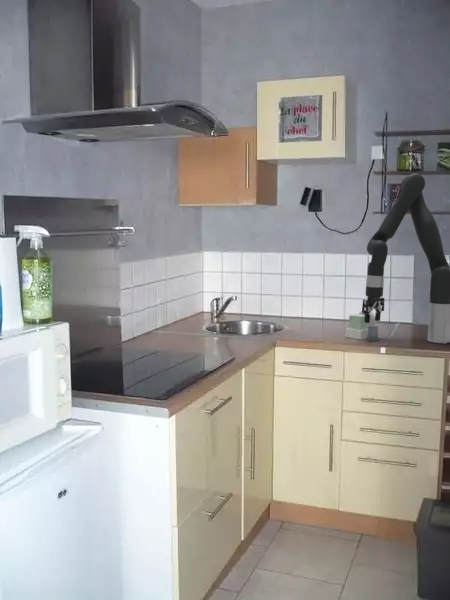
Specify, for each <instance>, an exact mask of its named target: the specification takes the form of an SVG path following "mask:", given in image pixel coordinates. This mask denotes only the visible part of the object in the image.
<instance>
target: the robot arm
mask: <svg viewBox="0 0 450 600" xmlns="http://www.w3.org/2000/svg"><path fill="white" fill-rule="evenodd" d="M425 186H426V180H425V177H424V176H423V175H422V174H421V173H416V172H414V173H411V174H409V175H406V177H404V178H403V179H402V180H401V183H400V190H401V191H400V194H399V196H398V197H397V200H396V201H395V203H394V204H393V206H392V207H391V208H390V210H389V211H388V213H387V215H386V216H385V217H384V219H383V220H382V222H381V224H380V226H379V228H378V230H377V231H376V232H375V233H374V235H372V237H371V238H370V240H369V241H368V243H367V245H366V251H367V253H368V254H369V255H370V256H371V260H370V262H368V264H367V272H366V273H367V275H366V283H365V296H366V297H367V299H363V300H362V305H361V306H362V307H361V311H362V313H364V314H365V323H370V313H371V312H373V310H375V313H374V315H375V321H376V322H380V321H381V313H383V312H384V311H385V298H384V297H383V296H384V286H385V285H384V284H385V279H384V278H385V276H384V275H385V273H384V272H385V264H386V261H387V258H388V253H389V248H388V244H387V242H388V241H389V240H390V239H392V238H393V237H394V236H395V234H396V233H397V230H398V228H399V227H400V226H401V223H402V221H403V220H404V217H405V216H406V214H407V213H408V211H409V212H410V216H411V219H412V220H411V221H412V223H413V227H414V230H415V234H416V237H417V239H418V241H419V244H420V246H421V249H422V251H423V253H424V254H425V256H426V259H427V262H428V265H429V270H430V274H431V275H430V288H429V289H430V290H429V291H430V292H429V309H428V327H427V328H428V329H427V341H428V342H430V343H435V344H449V343H450V265H449V262H448V260H447V257H446V256H445V252H444V248H443V242H442V237H441V234H440V230H439V227H438V224H437V221H436V219H435V217H434V215H433V214H432V212H431V211H430V209H429V208H428V206H427V204H426V202H425V198H424V194H423V191H424V189H425ZM368 310H369V312H368Z"/></svg>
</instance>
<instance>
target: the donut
mask: <svg viewBox="0 0 450 600" xmlns="http://www.w3.org/2000/svg"><path fill="white" fill-rule="evenodd" d="M368 312H369V310H368ZM358 314H361V315H365V314H364V313H362V310H361V311H360V312H359V313H358ZM376 323H377V321H375V313H373V311H371V313H370V323H368V326H376Z"/></svg>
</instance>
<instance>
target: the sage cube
mask: <svg viewBox="0 0 450 600" xmlns="http://www.w3.org/2000/svg"><path fill="white" fill-rule="evenodd" d="M348 316H349V317H348V318H349V319H348V328H350V329H356V330H363V329H367V328H368V323H365V315H361V314H359V313H354V314H350V315H348Z"/></svg>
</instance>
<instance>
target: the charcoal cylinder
mask: <svg viewBox="0 0 450 600" xmlns="http://www.w3.org/2000/svg"><path fill="white" fill-rule="evenodd" d="M366 339H367V341H369V340H370V341H371V342H378V341H379V326H377V325H375V326H368V335H367V338H366ZM370 341H369V342H370Z"/></svg>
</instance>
